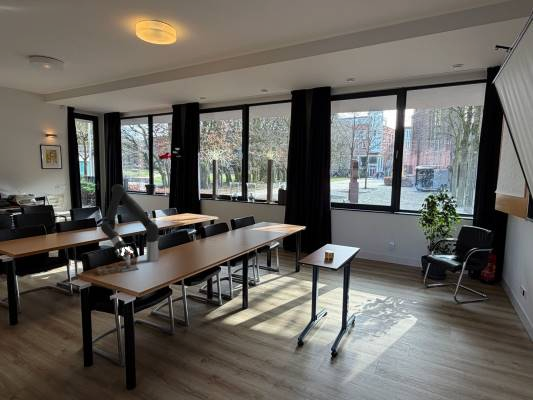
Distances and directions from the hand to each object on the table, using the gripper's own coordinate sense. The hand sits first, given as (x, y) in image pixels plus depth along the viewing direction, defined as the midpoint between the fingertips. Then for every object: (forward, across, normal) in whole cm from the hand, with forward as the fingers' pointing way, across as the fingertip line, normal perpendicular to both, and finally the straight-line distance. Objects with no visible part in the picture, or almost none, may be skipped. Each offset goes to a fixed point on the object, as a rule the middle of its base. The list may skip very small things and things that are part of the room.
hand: (129, 258), depth 246 cm
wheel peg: (+4, 0, +6) cm, 8 cm away
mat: (+5, 0, +7) cm, 9 cm away
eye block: (-1, -12, +12) cm, 17 cm away
